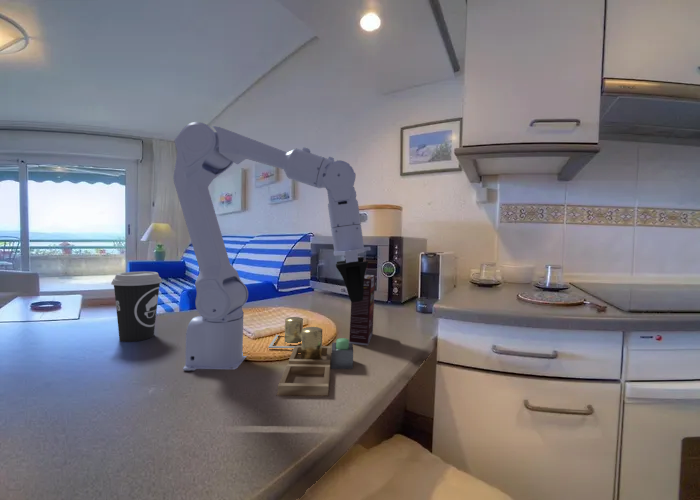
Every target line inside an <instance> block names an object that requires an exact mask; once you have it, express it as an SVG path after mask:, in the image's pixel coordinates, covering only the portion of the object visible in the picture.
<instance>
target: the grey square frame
mask: <svg viewBox="0 0 700 500" xmlns="http://www.w3.org/2000/svg"><path fill="white" fill-rule="evenodd" d="M278 336H279V335H277V334H276V335H275V336H274V338H273V339H272V341H271V342H270V344H269V346H268V348H294V347H295V346H288V345H274V346H273V344H274V342H275V341H276V339H277V337H278ZM276 342H277V341H276ZM268 348H267V349H268Z"/></svg>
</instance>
